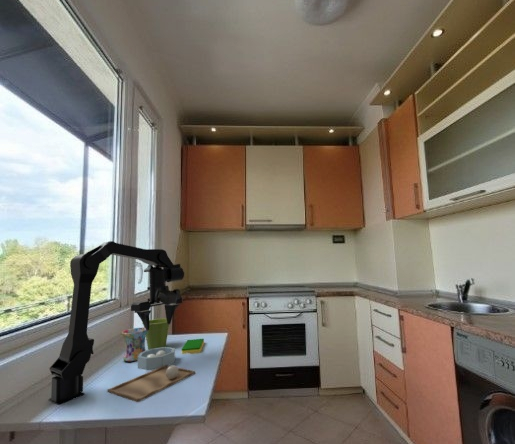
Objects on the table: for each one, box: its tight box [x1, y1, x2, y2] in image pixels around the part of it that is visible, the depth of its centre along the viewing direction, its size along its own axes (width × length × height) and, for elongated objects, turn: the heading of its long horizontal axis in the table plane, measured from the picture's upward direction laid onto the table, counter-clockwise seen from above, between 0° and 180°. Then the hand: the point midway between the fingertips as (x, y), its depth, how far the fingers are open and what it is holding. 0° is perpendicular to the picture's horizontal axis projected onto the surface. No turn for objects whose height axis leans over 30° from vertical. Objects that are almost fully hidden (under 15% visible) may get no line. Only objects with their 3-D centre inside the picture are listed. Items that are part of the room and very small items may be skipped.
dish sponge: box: [181, 338, 205, 355], centre depth 118 cm, size 7×14×2 cm, turn 4°
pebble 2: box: [166, 364, 179, 379], centre depth 86 cm, size 4×4×4 cm
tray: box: [107, 365, 196, 403], centre depth 85 cm, size 20×14×1 cm
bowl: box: [137, 346, 176, 371], centre depth 102 cm, size 12×12×4 cm
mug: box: [121, 327, 147, 363], centre depth 111 cm, size 12×9×11 cm
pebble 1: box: [156, 350, 166, 357], centre depth 103 cm, size 4×4×4 cm
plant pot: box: [141, 318, 170, 350], centre depth 123 cm, size 12×12×11 cm
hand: (158, 327), depth 104 cm, fingers open, 9 cm apart
